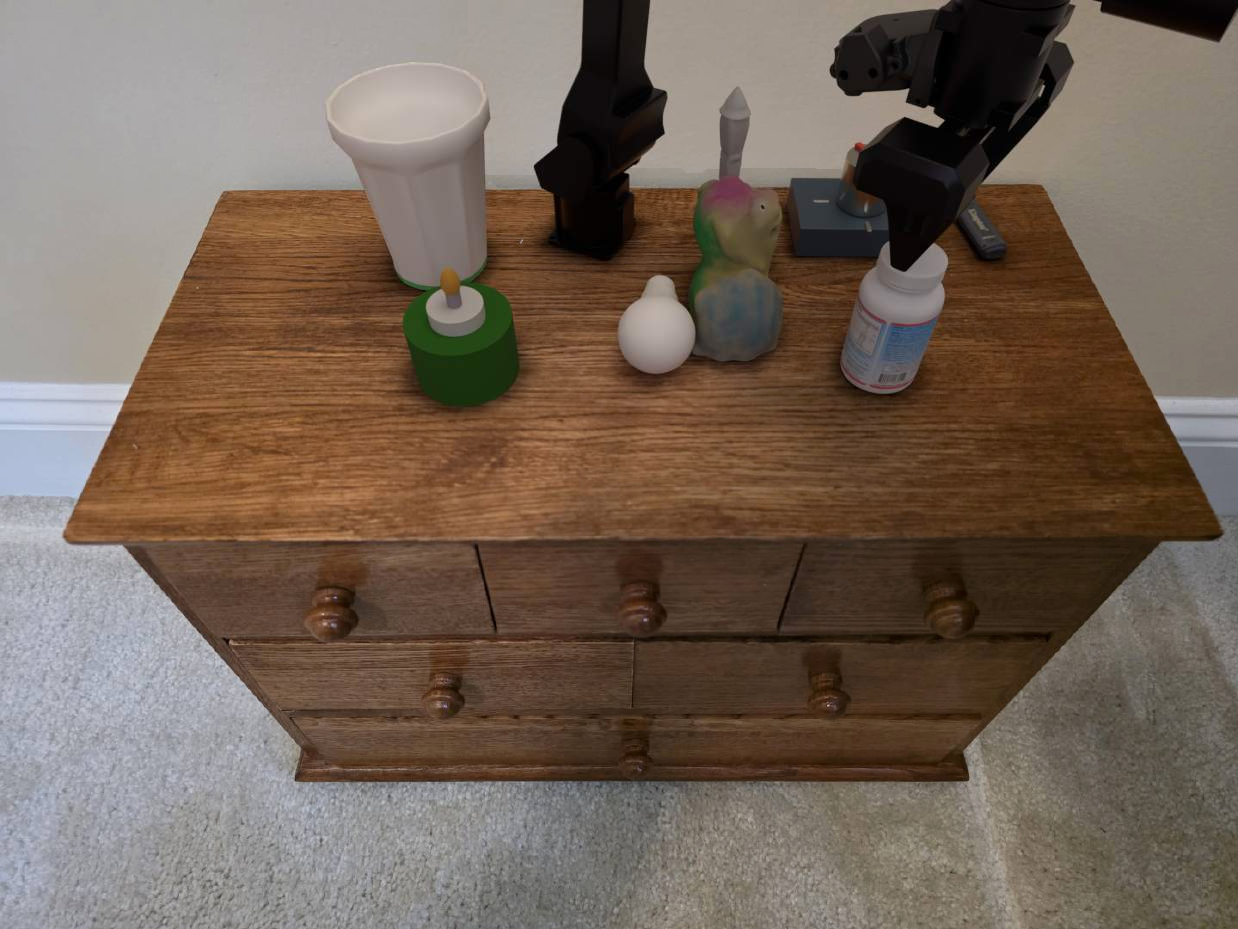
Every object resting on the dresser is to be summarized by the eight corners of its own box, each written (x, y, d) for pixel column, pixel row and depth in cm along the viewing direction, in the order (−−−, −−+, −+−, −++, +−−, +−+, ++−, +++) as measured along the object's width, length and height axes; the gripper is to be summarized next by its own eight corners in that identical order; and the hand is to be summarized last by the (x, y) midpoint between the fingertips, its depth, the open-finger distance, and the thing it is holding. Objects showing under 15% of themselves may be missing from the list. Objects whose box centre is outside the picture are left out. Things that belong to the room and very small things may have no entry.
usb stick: (940, 202, 80) (945, 188, 78) (965, 199, 80) (971, 186, 79) (979, 262, 74) (985, 248, 73) (1006, 259, 74) (1013, 245, 73)
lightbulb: (703, 306, 70) (702, 381, 62) (636, 320, 72) (626, 395, 64) (687, 243, 67) (684, 314, 59) (616, 259, 68) (604, 331, 60)
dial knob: (897, 208, 74) (912, 160, 70) (857, 223, 72) (870, 174, 69) (864, 182, 76) (877, 135, 72) (825, 196, 75) (836, 148, 71)
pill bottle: (920, 355, 66) (966, 241, 57) (905, 406, 63) (952, 293, 54) (847, 335, 68) (881, 221, 59) (829, 383, 64) (862, 270, 56)
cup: (529, 282, 72) (511, 119, 60) (394, 323, 69) (346, 159, 57) (482, 208, 79) (457, 48, 67) (357, 242, 76) (307, 80, 64)
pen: (718, 242, 76) (734, 96, 65) (702, 227, 77) (716, 82, 66) (740, 234, 76) (760, 89, 65) (724, 219, 78) (741, 75, 67)
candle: (476, 421, 62) (455, 323, 54) (395, 380, 65) (364, 281, 57) (539, 357, 66) (528, 257, 58) (461, 321, 69) (440, 221, 61)
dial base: (795, 258, 74) (801, 229, 72) (785, 202, 80) (791, 173, 77) (927, 260, 74) (937, 231, 71) (908, 203, 79) (917, 174, 77)
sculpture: (795, 365, 66) (818, 265, 58) (691, 369, 65) (700, 270, 58) (765, 252, 75) (782, 153, 67) (674, 256, 74) (680, 156, 67)
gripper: (942, -97, 50) (880, 137, 63) (794, 9, 41) (755, 258, 54) (1127, -55, 46) (1021, 186, 59) (1007, 72, 37) (911, 327, 49)
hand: (927, 234), depth 55 cm, fingers open, 9 cm apart
